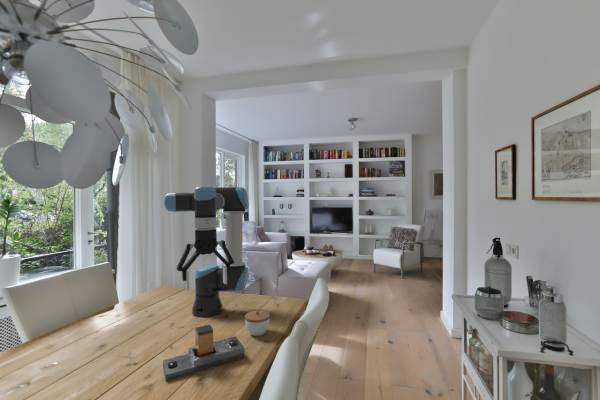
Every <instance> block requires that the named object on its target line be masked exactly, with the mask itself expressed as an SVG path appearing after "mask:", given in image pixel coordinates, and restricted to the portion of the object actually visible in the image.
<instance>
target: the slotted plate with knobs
mask: <svg viewBox="0 0 600 400" xmlns="http://www.w3.org/2000/svg"><path fill="white" fill-rule="evenodd" d="M244 359H245V347H244V345H243V344H242V343H241V341H240V340H239V339H238V338H237V337H236V336H232V337H228V338H225V339H220V340H217V341H213V354H210V355H207V356H203V357H199V358H196V346H192V347H188V353H186V354H182V355H179V356H175V357H170V358H167V359H164V360H162V369H163V373H164V378H165V382H168V381H172V380H175V379H180V378H182V377H185V376H189V375H193V374H195V373H200V372H203V371H207V370H210V369H214V368H217V367H220V366H224V365H226V364H231V363H234V362H239V361H241V360H244Z"/></svg>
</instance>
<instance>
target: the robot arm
mask: <svg viewBox="0 0 600 400" xmlns="http://www.w3.org/2000/svg"><path fill="white" fill-rule="evenodd" d="M248 196H249V195H248V192H247V190H246V188H245V187H239V186H232V187H231V186H229V187H228V186H227V187H225V186H224V187H223V186H221V187H217V186H216V187H214V186H197V187H195V188H194V191H190V192H169V193H167V194H166V195H165V197H164V208H165V210H166V211H167V212H171V213H172V212H174V213H177V212H180V213H181V212H194V228H195V230H194V240H195V241H194V243H189V242H186V243H185V250H184V251H183V254H182V256H181V258H180V259H179V262H178V263H177V266H176V270H177V271H178V272H181V277H182V278H181V279H182V281H183V282H185V290H186V291H190V272H189V270H188V269H190V267H191V266H192V265H193V264H194V263H195V261H196V259H197V258H198V257H200V256H201V255H202V256H204V255H205V256H206V255H212V254H214V255H215V256H216V257H217V258H218V259H219V260H220V261H221V262H222V263H223V264H222V267H220V265H218V264H210V265H204V266H201V267H199V268H197V269H196V271H195V277H194V283H195V284H194V285H195V288H194V289H195V293H194V294H195V298H194V301H193V305H192V307H191V314H192V315H193V316H196V317H199V318H200V317H202V318H203V317H204V318H205V317H211V316H215V315H218V314H219V313H221V312H223V303H222V300H221V297H220V292H238V291H239V292H241V291H245V289H246V287H247V283H248V279H249V268H248V267H246V263H245V262H244V261H243V219H244V218H243V216H244V214H245V213H246V210H247V209H249V204H250V203H249V197H248ZM219 210H222V213H223V214H224V215H225V240H224V239H223V240H222V239H221V240H219V241H218V240H217V237H218V236H217V229H216V228H217V211H219ZM218 245H219V247H220V248H221V249H222V251H223V253H224V254H225V255H224V256H225V257H223V256H222V254H221V253H220V252H219V251H218V250H217V247H218ZM193 248H194V249H195V251H194V252H193V254H192V255H191V257H190V258H189V259H188V260H187V258H188V256H189V254H190V252H191V251H192V249H193ZM186 261H187V262H186ZM185 262H186V263H185Z"/></svg>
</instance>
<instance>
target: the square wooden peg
mask: <svg viewBox="0 0 600 400" xmlns="http://www.w3.org/2000/svg"><path fill="white" fill-rule="evenodd" d="M194 333H195V347H196V358H199V357H203V356H207V355H210V354H213V342H214V329H213V327H212V326H211V325H210V324H206V325H201V326H195V332H194Z"/></svg>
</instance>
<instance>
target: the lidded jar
mask: <svg viewBox="0 0 600 400" xmlns="http://www.w3.org/2000/svg"><path fill="white" fill-rule="evenodd" d="M270 317H271V314H270V313H269V311H265V310H251V311H248V312H247V313H246V314H245V315H244V319H245V322H244V323H245V327H246V330H247V332H248V333H249V334H250V335H251V336H254V337H259V336H263V335H264V334H266V332H267V331H268V329H269V327H270V321H271V319H270Z"/></svg>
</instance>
